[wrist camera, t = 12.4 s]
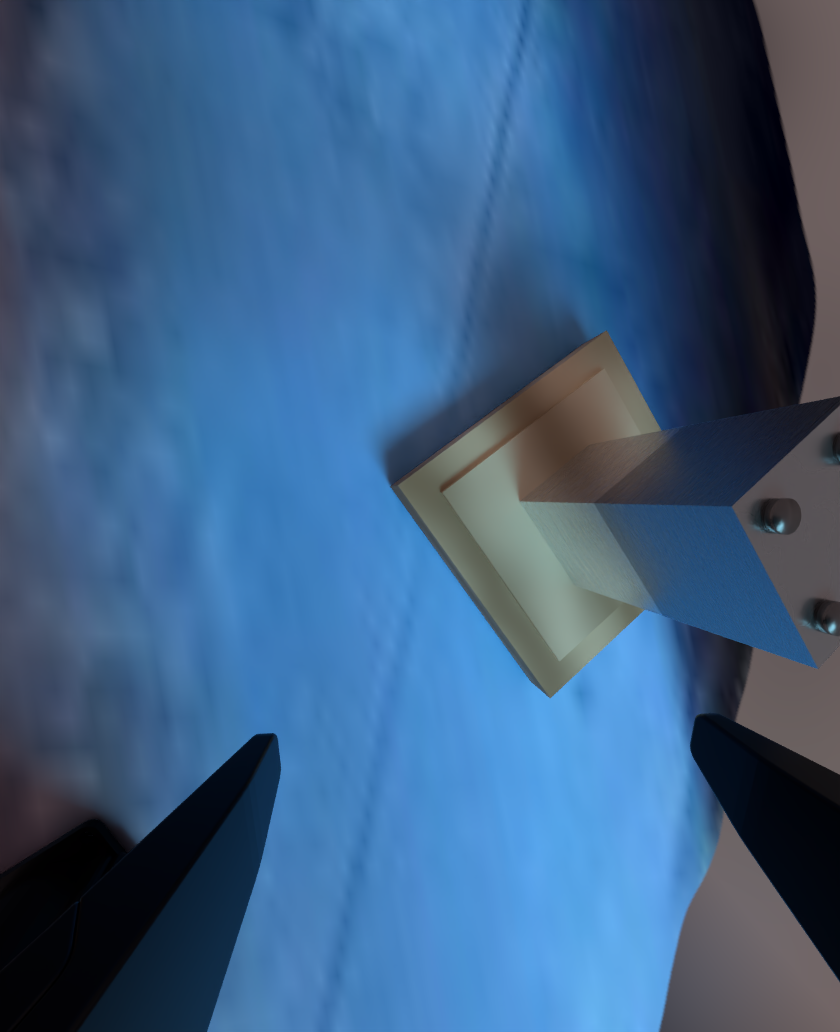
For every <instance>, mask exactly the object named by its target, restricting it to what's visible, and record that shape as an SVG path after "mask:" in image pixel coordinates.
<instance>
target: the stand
mask: <svg viewBox="0 0 840 1032" xmlns="http://www.w3.org/2000/svg"><path fill="white" fill-rule="evenodd" d="M657 431H661V429H660V428H659V426H658V424H657V422H656V420H655V418H654V417H653V415H652V413H651V411H650V409H649V407H648V405H647V404H646V402H645V400H644V398H643V396H642V394H641V393H640V391H639V389H638V387H637V385H636V383H635V382H634V380H633V378H632V376H631V374H630V372H629V371H628V369H627V367H626V365H625V363H624V361H623V360H622V358H621V356H620V354H619V352H618V350H617V349H616V347H615V345H614V343H613V341H612V339H611V338H610V336H609V334H608V332H607V331H605V332H603V333H601V334H600V335H598V336H596V337H594V338H593V339H591V340H589V341H588V342H586V343H584V344H582V345H581V346H580V347H578V348H577V349H575V350H574V351H573V352H571V353H570V354H569V355H567V356H566V357H565V358H563V359H562V360H561V361H559V362H558V363H557V364H555V365H554V366H552V367H551V368H550V369H548V370H547V371H546V372H544V373H543V374H542V375H540V376H539V377H538V378H536V379H535V380H534V381H532V382H531V383H529V384H528V385H527V386H525V387H524V388H523V389H521V390H520V391H519V392H517V393H516V394H515V395H513V396H512V397H511V398H509V399H508V400H506V401H505V402H504V403H502V404H501V405H500V406H498V407H497V408H496V409H494V410H493V411H492V412H490V413H489V414H488V415H486V416H485V417H483V418H482V419H481V420H479V421H478V422H477V423H475V424H474V425H473V426H471V427H470V428H469V429H467V430H466V431H465V432H463V433H462V434H460V435H459V436H458V437H456V438H455V439H454V440H452V441H451V442H450V443H448V444H447V445H446V446H444V447H443V448H442V449H440V450H439V451H437V452H436V453H435V454H433V455H432V456H431V457H429V458H428V459H427V460H425V461H424V462H423V463H421V464H420V465H419V466H417V467H416V468H414V469H413V470H412V471H410V472H409V473H408V474H406V475H405V476H404V477H402V478H401V479H400V480H398V481H397V482H395V483H394V484H393V485H391V486H390V487H391V488H392V490H393V491H394V492H395V494H396V495H397V497H398V498H399V499H400V501H401V502H402V504H403V505H404V506H405V508H406V509H407V511H408V512H409V513H410V515H411V516H412V517H413V519H414V520H415V522H416V523H417V524H418V526H419V527H420V529H421V530H422V531H423V533H424V534H425V535H426V537H427V538H428V540H429V541H430V542H431V544H432V545H433V547H434V548H435V549H436V551H437V552H438V554H439V555H440V556H441V558H442V559H443V560H444V562H445V563H446V565H447V566H448V567H449V569H450V570H451V572H452V573H453V574H454V576H455V577H456V579H457V580H458V581H459V583H460V584H461V585H462V587H463V588H464V590H465V591H466V592H467V594H468V595H469V597H470V598H471V599H472V601H473V602H474V603H475V605H476V606H477V608H478V609H479V610H480V612H481V613H482V615H483V616H484V617H485V619H486V620H487V622H488V623H489V624H490V626H491V627H492V628H493V630H494V631H495V633H496V634H497V635H498V637H499V638H500V640H501V641H502V642H503V644H504V645H505V647H506V648H507V649H508V651H509V652H510V653H511V655H512V656H513V658H514V659H515V660H516V662H517V663H518V665H519V666H520V667H521V669H522V670H523V671H524V673H525V674H526V676H527V677H528V678H529V680H530V681H531V682H532V683H533V684H534V685H535V686H537V687H538V688H539V689H540V690H541V691H542V692H543V693H545V694H546V695H547V696H548V697H549V698H551V697H552V696H553V695H554V694H555V693H556V692H557V691H559V690H560V689H561V688H562V687H563V686H564V685H565V684H566V683H567V682H568V681H569V680H570V679H571V678H572V677H573V676H575V675H576V674H577V673H578V672H579V671H580V670H581V669H582V668H583V667H584V666H585V665H586V664H587V663H588V662H589V661H590V660H592V659H593V658H594V657H595V656H596V655H597V654H598V653H599V652H600V651H601V650H602V649H603V648H604V647H605V646H606V645H607V644H609V643H610V642H611V641H612V640H613V639H614V638H615V637H616V636H617V635H618V634H619V633H620V632H621V631H622V630H623V629H624V628H626V627H627V626H628V625H629V624H630V623H631V622H632V621H633V620H634V619H635V618H636V617H637V616H638V615H639V614H640V613H642V612H643V611H644V610H645V609H642V608H639V607H636V606H633V605H630V604H627V603H624V602H622V601H619V600H616V599H613V598H610V597H607V596H604V595H601V594H598V593H595V592H592V591H590V590H587V589H584V588H581V587H578V586H575V585H574V584H573V582H572V581H571V579H570V578H569V576H568V575H567V573H566V572H565V570H564V569H563V567H562V566H561V564H560V563H559V561H558V560H557V558H556V557H555V555H554V553H553V552H552V550H551V549H550V547H549V546H548V544H547V543H546V541H545V540H544V538H543V537H542V535H541V534H540V532H539V531H538V529H537V528H536V526H535V525H534V523H533V522H532V520H531V518H530V517H529V515H528V514H527V512H526V511H525V509H524V508H523V506H522V505H521V503H520V502H519V501H521V500H522V499H523V498H524V497H526V496H527V495H528V494H529V493H530V492H532V491H533V490H534V489H535V488H537V487H538V486H539V485H540V484H542V483H543V482H544V481H545V480H546V479H548V478H549V477H550V476H551V475H553V474H554V473H555V472H556V471H558V470H559V469H560V468H561V467H562V466H564V465H565V464H566V463H567V462H569V461H570V460H571V459H572V458H574V457H575V456H576V455H577V454H578V453H580V452H581V451H582V450H583V449H585V448H586V447H587V446H588V445H590V444H595V443H600V442H605V441H610V440H615V439H621V438H626V437H631V436H636V435H642V434H647V433H652V432H657Z"/></svg>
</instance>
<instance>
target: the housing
mask: <svg viewBox="0 0 840 1032" xmlns="http://www.w3.org/2000/svg"><path fill="white" fill-rule="evenodd" d="M519 502H520V503H521V505H522V506H523V508H524V509H525V511H526V512H527V514H528V515H529V517H530V518H531V520H532V522H533V523H534V525H535V526H536V528H537V529H538V531H539V532H540V534H541V535H542V537H543V538H544V540H545V541H546V543H547V544H548V546H549V547H550V549H551V550H552V552H553V553H554V555H555V557H556V558H557V560H558V561H559V563H560V564H561V566H562V567H563V569H564V570H565V572H566V573H567V575H568V576H569V578H570V579H571V581H572V582H573V584H574V585H575V586H578V587H581V588H584V589H587V590H590V591H592V592H595V593H598V594H601V595H604V596H607V597H610V598H613V599H616V600H619V601H622V602H624V603H627V604H630V605H633V606H636V607H639V608H642V609H645V610H648V611H651V612H654V613H656V614H659V615H662V616H665V617H668V618H671V619H674V620H677V621H680V622H683V623H686V624H689V625H691V626H694V627H697V628H700V629H703V630H706V631H709V632H712V633H715V634H718V635H721V636H723V637H726V638H729V639H732V640H735V641H738V642H741V643H744V644H747V645H750V646H753V647H756V648H758V649H762V650H764V651H767V652H770V653H773V654H776V655H779V656H782V657H785V658H788V659H791V660H793V661H796V662H799V663H802V664H805V665H808V666H811V667H814V668H817V669H819V668H820V667H821V665H822V664H823V663H824V662H825V661H826V660H827V659H828V658H829V657H830V656H831V654H832V653H833V652H834V651H835V650H836V649H837V648H838V647H839V646H840V397H834V398H829V399H824V400H819V401H814V402H809V403H803V404H798V405H793V406H787V407H782V408H777V409H772V410H767V411H761V412H756V413H751V414H746V415H741V416H735V417H730V418H725V419H720V420H714V421H709V422H704V423H699V424H694V425H688V426H683V427H678V428H673V429H668V430H662V431H657V432H652V433H647V434H642V435H636V436H631V437H626V438H621V439H615V440H610V441H605V442H600V443H595V444H590V445H588V446H587V447H586V448H585V449H583V450H582V451H581V452H580V453H578V454H577V455H576V456H575V457H574V458H572V459H571V460H570V461H569V462H567V463H566V464H565V465H564V466H562V467H561V468H560V469H559V470H558V471H556V472H555V473H554V474H553V475H551V476H550V477H549V478H548V479H546V480H545V481H544V482H543V483H542V484H540V485H539V486H538V487H537V488H535V489H534V490H533V491H532V492H530V493H529V494H528V495H527V496H526V497H524V498H523V499H522V500H521V501H519Z"/></svg>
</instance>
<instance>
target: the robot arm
mask: <svg viewBox="0 0 840 1032" xmlns="http://www.w3.org/2000/svg"><path fill="white" fill-rule="evenodd" d="M690 749H691V753H692V756H693V758H694V760H695V762H696V763H697V765H698V767H699V768H700V770H701V772H702V774H703V775H704V777H705V779H706V780H707V782H708V784H709V786H710V787H711V789H712V791H713V792H714V794H715V796H716V798H717V799H718V801H719V803H720V804H721V806H722V808H723V809H724V811H725V813H726V815H727V816H728V818H729V820H730V821H731V823H732V825H733V826H734V828H735V830H736V831H737V833H738V835H739V836H740V838H741V839H742V841H743V842H744V844H745V845H746V847H747V848H748V850H749V851H750V853H751V854H752V856H753V857H754V858H755V860H756V861H757V863H758V864H759V866H760V867H761V869H762V870H763V872H764V873H765V874H766V876H767V877H768V879H769V880H770V882H771V883H772V885H773V886H774V887H775V889H776V890H777V892H778V893H779V895H780V896H781V898H782V899H783V901H784V902H785V903H786V905H787V906H788V908H789V909H790V911H791V912H792V913H793V915H794V916H795V918H796V919H797V921H798V922H799V924H800V925H801V927H802V928H803V929H804V931H805V932H806V934H807V935H808V936H809V938H810V940H811V941H812V943H813V944H814V945H815V947H816V948H817V949H818V951H819V953H820V954H821V956H822V957H823V958H824V960H825V961H826V962H827V964H828V966H829V967H830V969H831V970H832V971H833V973H834V974H835V976H836V977H837V979H838V980H839V982H840V775H839V774H837V773H835V772H833V771H831V770H829V769H827V768H825V767H823V766H821V765H819V764H817V763H815V762H813V761H811V760H809V759H807V758H806V757H804V756H802V755H800V754H798V753H796V752H793V751H792V750H790V749H787V748H786V747H784V746H782V745H780V744H778V743H776V742H774V741H772V740H770V739H768V738H766V737H764V736H762V735H760V734H758V733H756V732H754V731H752V730H750V729H748V728H746V727H744V726H742V725H740V724H738V723H736V722H734V721H732V720H730V719H728V718H726V717H724V716H722V715H720V714H716V713H708V714H699V715H697V716H696V717H695V720H694V726H693V731H692V736H691V742H690ZM280 772H281V763H280V755H279V746H278V738H277V736H276V735H275V734H274V733H267V734H256V735H255V736H253V737H252V738H251V739H250V740H249V741H248V742H247V743H246V744H244V745H243V746H242V747H241V748H240V749H239V750H238V751H237V752H236V753H235V754H234V755H233V756H232V757H231V758H230V759H228V760H227V761H226V762H225V763H224V764H223V765H222V766H221V767H220V768H219V769H218V770H217V771H216V772H215V773H213V774H212V775H211V776H210V777H209V778H208V779H207V780H206V781H205V782H204V783H203V784H202V785H201V786H200V787H198V788H197V789H196V790H195V791H194V792H193V793H192V794H191V795H190V796H189V797H188V798H187V799H186V800H185V801H183V802H182V803H181V804H180V805H179V806H178V807H177V808H176V809H175V810H174V811H173V812H172V813H171V814H170V815H168V816H167V817H166V818H165V819H164V820H163V821H162V822H161V823H160V824H159V825H158V826H157V827H156V828H155V829H153V830H152V831H151V832H150V833H149V834H148V835H147V836H146V837H145V838H144V839H143V840H142V841H141V842H140V843H138V844H137V845H136V846H135V847H134V848H133V849H132V850H131V851H130V852H129V853H128V854H127V853H126V852H125V850H124V849H123V848H122V847H121V845H120V844H119V843H118V841H117V840H116V839H115V838H114V836H113V835H112V834H111V833H110V831H109V830H108V829H107V827H106V826H105V825H104V824H103V823H102V822H101V821H100V820H96V819H93V820H88V821H86V822H84V823H82V824H81V825H79V826H78V827H76V828H74V829H73V830H71V831H70V832H68V833H66V834H65V835H63V836H62V837H60V838H58V839H57V840H55V841H54V842H52V843H50V844H49V845H47V846H46V847H44V848H42V849H41V850H39V851H38V852H36V853H34V854H33V855H31V856H30V857H28V858H26V859H25V860H23V861H22V862H20V863H18V864H17V865H15V866H14V867H12V868H10V869H9V870H7V871H5V872H4V873H2V874H1V875H0V1032H207V1030H208V1027H209V1024H210V1021H211V1017H212V1014H213V1011H214V1008H215V1005H216V1002H217V999H218V996H219V993H220V989H221V986H222V983H223V980H224V977H225V974H226V971H227V968H228V965H229V961H230V958H231V955H232V952H233V949H234V946H235V943H236V940H237V937H238V933H239V930H240V927H241V924H242V921H243V918H244V915H245V912H246V909H247V906H248V902H249V899H250V896H251V893H252V890H253V887H254V884H255V881H256V877H257V874H258V870H259V867H260V863H261V859H262V855H263V851H264V847H265V842H266V838H267V833H268V829H269V824H270V820H271V815H272V811H273V806H274V802H275V797H276V793H277V788H278V784H279V779H280ZM85 832H91V833H92V834H93V835H92V836H88V835H87V834H86V833H85Z"/></svg>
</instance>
